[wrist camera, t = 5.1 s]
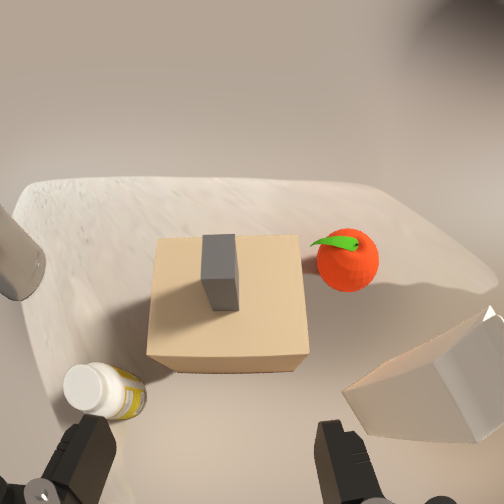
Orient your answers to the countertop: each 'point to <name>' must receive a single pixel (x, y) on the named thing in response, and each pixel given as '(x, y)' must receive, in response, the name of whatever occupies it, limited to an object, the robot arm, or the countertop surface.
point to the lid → (228, 298)
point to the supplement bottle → (104, 391)
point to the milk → (438, 387)
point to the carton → (232, 364)
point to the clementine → (347, 260)
